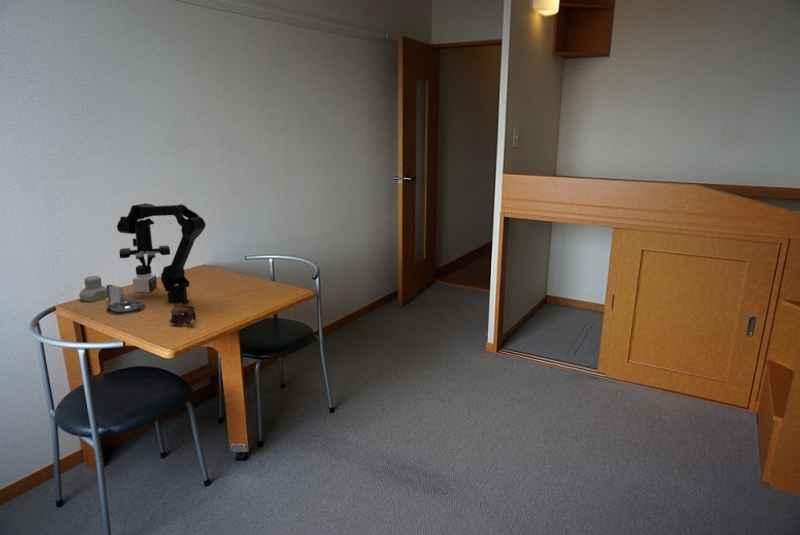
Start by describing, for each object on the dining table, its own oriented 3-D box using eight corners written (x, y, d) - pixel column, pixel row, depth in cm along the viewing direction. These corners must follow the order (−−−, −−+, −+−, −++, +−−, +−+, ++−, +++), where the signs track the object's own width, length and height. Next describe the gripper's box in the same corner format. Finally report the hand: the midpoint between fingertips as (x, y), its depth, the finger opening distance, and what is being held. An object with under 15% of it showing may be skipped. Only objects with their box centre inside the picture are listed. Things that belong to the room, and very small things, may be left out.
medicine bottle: (150, 294, 239) (147, 268, 236) (133, 294, 239) (130, 267, 236) (157, 289, 246) (154, 263, 242) (141, 289, 246) (138, 263, 243)
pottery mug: (162, 325, 206) (167, 303, 208) (185, 330, 213) (189, 309, 216) (180, 325, 199) (184, 302, 201) (203, 329, 206) (207, 308, 208)
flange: (153, 306, 224) (151, 292, 223) (133, 319, 211) (132, 303, 209) (119, 305, 226) (117, 290, 224) (97, 317, 212) (95, 301, 210)
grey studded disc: (148, 306, 220) (145, 286, 218) (124, 314, 211) (121, 294, 209) (122, 300, 226) (119, 281, 224) (98, 308, 216) (95, 288, 214)
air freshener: (101, 295, 237) (98, 273, 234) (113, 299, 233) (111, 276, 230) (76, 302, 227) (73, 279, 225) (89, 306, 224) (86, 282, 221)
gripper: (167, 229, 236) (170, 265, 241) (118, 232, 229) (122, 269, 233) (168, 234, 227) (171, 271, 231) (117, 238, 219) (121, 276, 223)
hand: (147, 271), depth 230 cm, fingers closed
